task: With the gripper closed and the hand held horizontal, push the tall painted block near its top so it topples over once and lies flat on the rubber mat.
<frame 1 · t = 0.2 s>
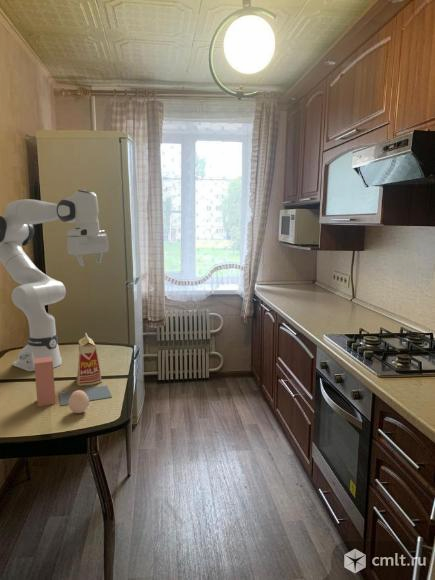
hand: (90, 264, 169), 48 cm above the table, tool pointing down, fingers open, 8 cm apart
milk carton: (89, 381, 170), on the table
mat: (85, 395, 155), on the table
block: (46, 401, 150), on the table
egg: (79, 413, 141), on the table
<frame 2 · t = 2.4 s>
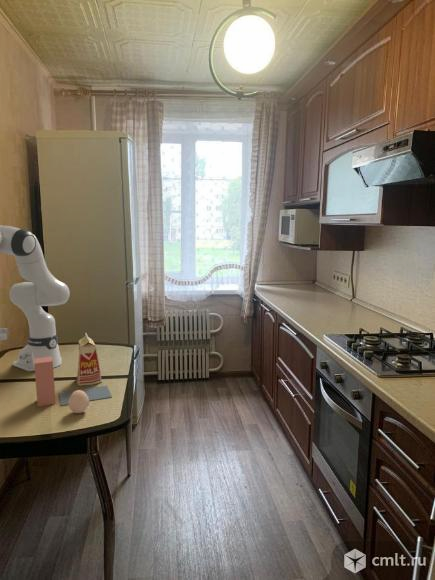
hand: (7, 333, 142), 27 cm above the table, tool horizontal, fingers open, 8 cm apart
nothing on the table moved.
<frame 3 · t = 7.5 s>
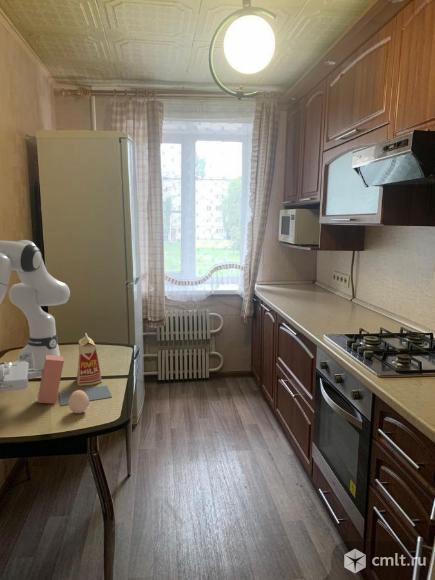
hand: (42, 372, 148), 11 cm above the table, tool horizontal, fingers closed
block: (46, 399, 150), point 1 cm above the table, tilted 14°
everything else where it was.
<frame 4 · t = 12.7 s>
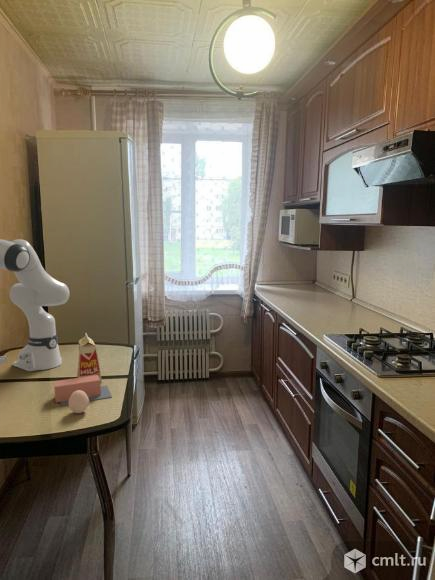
hand: (5, 359, 143), 18 cm above the table, tool horizontal, fingers closed
block: (54, 391, 151), point 3 cm above the table, tilted 90°, touching mat
everything else where it was.
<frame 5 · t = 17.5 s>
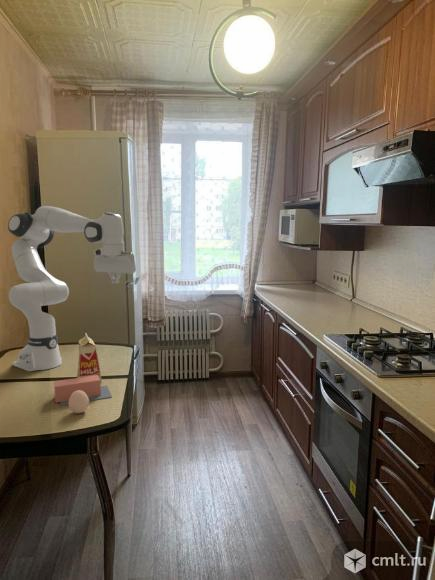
hand: (115, 282, 178), 39 cm above the table, tool pointing down, fingers closed
nothing on the table moved.
at the end: block tilted 90°; block touching mat; block 10.5 cm from the mat (horizontally) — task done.
